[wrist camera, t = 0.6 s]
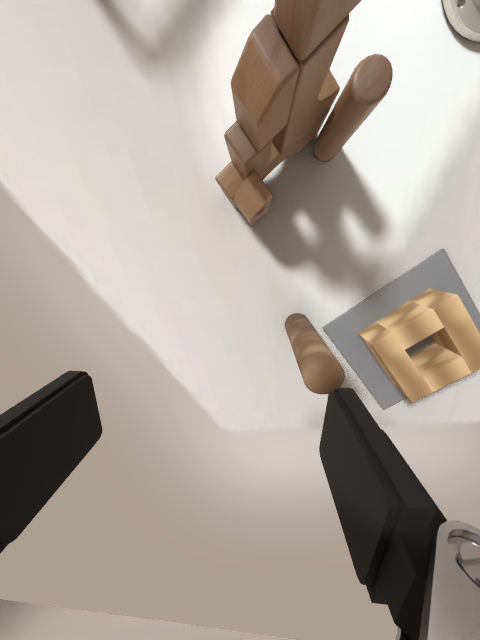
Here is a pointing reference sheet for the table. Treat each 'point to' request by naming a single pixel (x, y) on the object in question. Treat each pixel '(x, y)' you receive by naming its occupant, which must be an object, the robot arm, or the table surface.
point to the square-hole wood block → (433, 361)
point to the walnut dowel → (313, 356)
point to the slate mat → (406, 287)
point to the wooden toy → (294, 96)
